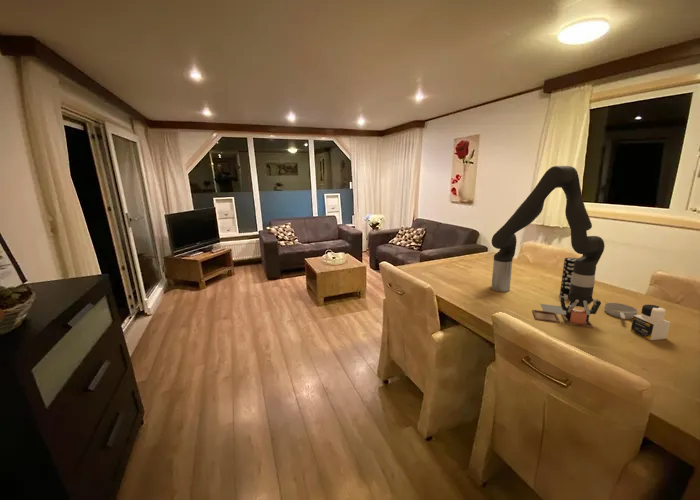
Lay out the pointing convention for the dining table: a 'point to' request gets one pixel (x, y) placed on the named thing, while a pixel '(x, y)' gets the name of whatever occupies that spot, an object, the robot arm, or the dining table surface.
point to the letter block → (578, 316)
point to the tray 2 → (567, 322)
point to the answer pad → (553, 309)
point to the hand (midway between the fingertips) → (576, 320)
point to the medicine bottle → (651, 323)
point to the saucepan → (624, 310)
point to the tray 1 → (545, 316)
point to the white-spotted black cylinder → (567, 276)
